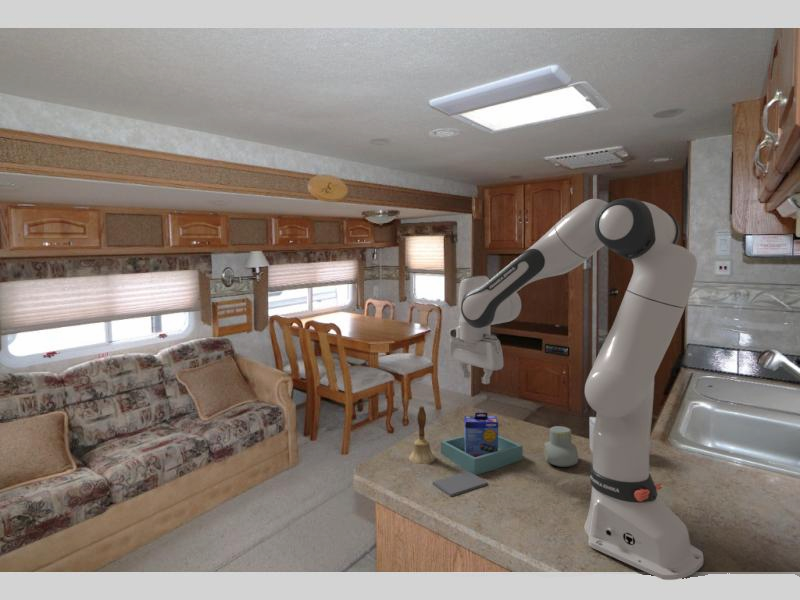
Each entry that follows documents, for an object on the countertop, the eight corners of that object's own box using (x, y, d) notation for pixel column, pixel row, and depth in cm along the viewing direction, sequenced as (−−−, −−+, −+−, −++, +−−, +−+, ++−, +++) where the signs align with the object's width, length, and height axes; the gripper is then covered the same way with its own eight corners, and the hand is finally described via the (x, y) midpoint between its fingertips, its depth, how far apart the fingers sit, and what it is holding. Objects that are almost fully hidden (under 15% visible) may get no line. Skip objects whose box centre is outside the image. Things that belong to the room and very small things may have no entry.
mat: (487, 484, 120) (487, 482, 120) (450, 496, 114) (450, 494, 114) (468, 473, 127) (468, 471, 127) (432, 484, 121) (432, 481, 121)
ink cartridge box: (465, 462, 134) (464, 413, 133) (463, 454, 140) (462, 408, 139) (499, 462, 134) (498, 413, 133) (496, 454, 139) (495, 407, 139)
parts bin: (522, 460, 134) (522, 445, 134) (474, 475, 125) (474, 459, 125) (486, 443, 148) (486, 429, 148) (440, 455, 139) (440, 441, 139)
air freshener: (579, 472, 126) (579, 436, 126) (548, 470, 128) (548, 435, 127) (571, 456, 137) (571, 423, 136) (543, 454, 138) (542, 422, 138)
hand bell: (414, 452, 143) (413, 401, 142) (439, 456, 139) (438, 404, 138) (403, 462, 135) (402, 409, 134) (430, 467, 132) (428, 412, 131)
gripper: (508, 335, 123) (509, 386, 124) (462, 328, 141) (463, 373, 141) (490, 337, 120) (491, 389, 120) (445, 330, 138) (446, 375, 138)
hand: (475, 380), depth 131 cm, fingers open, 7 cm apart
